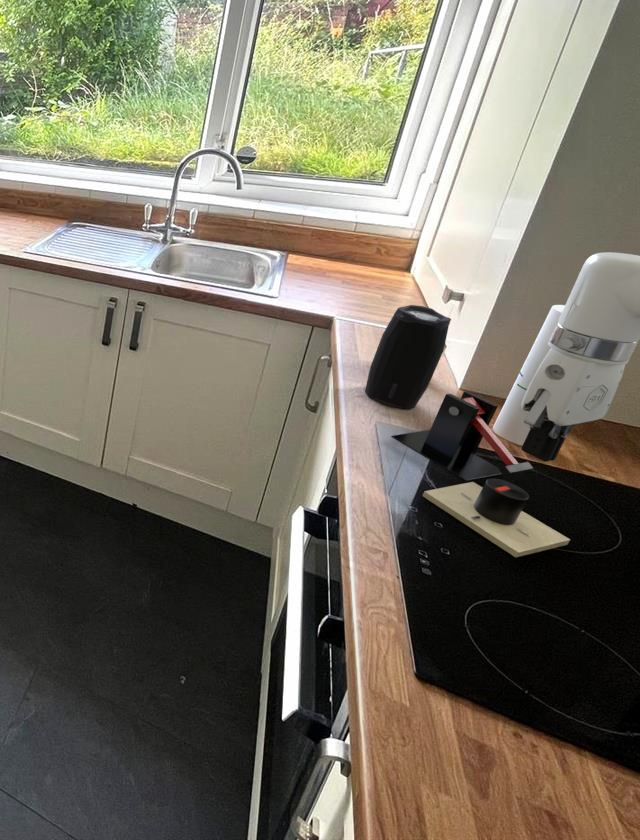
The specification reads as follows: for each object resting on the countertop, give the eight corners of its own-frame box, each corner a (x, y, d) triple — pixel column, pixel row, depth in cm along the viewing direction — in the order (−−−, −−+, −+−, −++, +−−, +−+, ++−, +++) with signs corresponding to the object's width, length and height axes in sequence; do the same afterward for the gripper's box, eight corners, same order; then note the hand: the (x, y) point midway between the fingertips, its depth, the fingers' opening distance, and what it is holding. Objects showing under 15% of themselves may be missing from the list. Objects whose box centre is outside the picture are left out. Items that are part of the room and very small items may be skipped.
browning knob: (487, 500, 85) (500, 474, 83) (522, 522, 81) (538, 494, 79) (465, 505, 84) (479, 479, 82) (501, 527, 80) (516, 500, 78)
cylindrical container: (537, 438, 104) (605, 311, 95) (551, 459, 99) (624, 326, 89) (485, 425, 108) (545, 301, 98) (495, 444, 102) (560, 315, 92)
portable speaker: (375, 387, 119) (409, 300, 112) (427, 411, 111) (467, 319, 104) (349, 395, 116) (383, 305, 109) (400, 420, 108) (441, 325, 101)
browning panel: (563, 550, 79) (571, 538, 78) (511, 563, 77) (518, 551, 76) (467, 491, 90) (473, 480, 89) (419, 501, 88) (424, 490, 87)
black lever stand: (504, 479, 93) (536, 417, 89) (463, 487, 91) (494, 424, 87) (426, 435, 104) (452, 378, 99) (388, 441, 102) (412, 383, 97)
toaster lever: (522, 472, 89) (538, 466, 87) (499, 477, 88) (514, 471, 86) (465, 403, 96) (478, 396, 94) (443, 406, 95) (456, 399, 93)
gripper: (589, 361, 74) (532, 479, 81) (665, 349, 78) (604, 463, 84) (519, 337, 81) (472, 447, 87) (592, 327, 84) (541, 434, 91)
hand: (537, 455), depth 86 cm, fingers closed
